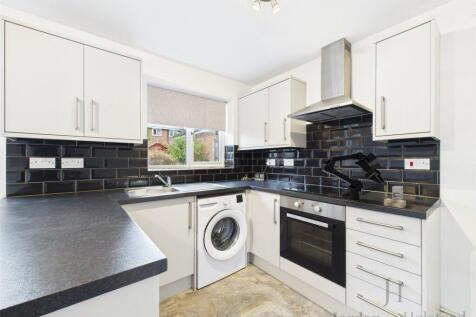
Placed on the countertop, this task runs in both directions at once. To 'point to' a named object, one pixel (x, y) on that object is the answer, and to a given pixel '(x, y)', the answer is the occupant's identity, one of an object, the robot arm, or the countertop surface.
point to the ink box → (397, 192)
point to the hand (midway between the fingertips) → (383, 182)
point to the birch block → (395, 203)
